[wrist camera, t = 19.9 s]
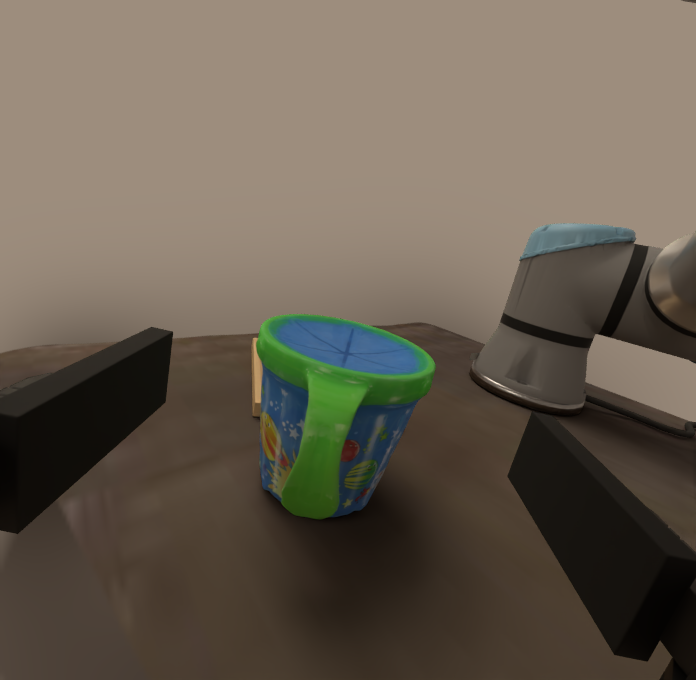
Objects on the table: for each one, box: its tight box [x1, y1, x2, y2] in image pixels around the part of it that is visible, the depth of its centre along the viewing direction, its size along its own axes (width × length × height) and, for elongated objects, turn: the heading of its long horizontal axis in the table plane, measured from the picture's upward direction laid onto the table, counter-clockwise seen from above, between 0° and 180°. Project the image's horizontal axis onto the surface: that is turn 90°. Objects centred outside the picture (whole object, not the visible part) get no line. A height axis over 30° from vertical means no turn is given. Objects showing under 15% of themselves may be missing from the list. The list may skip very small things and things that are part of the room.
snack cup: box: [256, 314, 436, 519], centre depth 25 cm, size 16×11×10 cm
